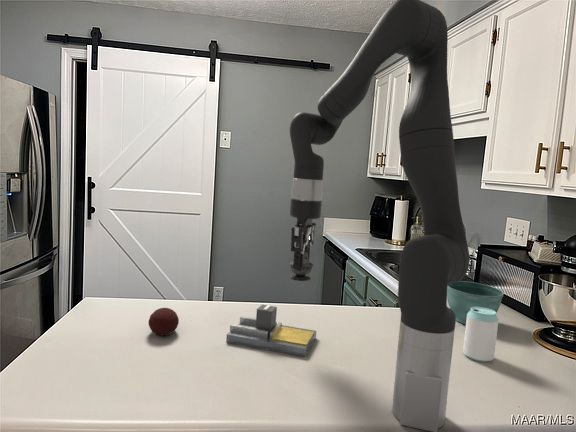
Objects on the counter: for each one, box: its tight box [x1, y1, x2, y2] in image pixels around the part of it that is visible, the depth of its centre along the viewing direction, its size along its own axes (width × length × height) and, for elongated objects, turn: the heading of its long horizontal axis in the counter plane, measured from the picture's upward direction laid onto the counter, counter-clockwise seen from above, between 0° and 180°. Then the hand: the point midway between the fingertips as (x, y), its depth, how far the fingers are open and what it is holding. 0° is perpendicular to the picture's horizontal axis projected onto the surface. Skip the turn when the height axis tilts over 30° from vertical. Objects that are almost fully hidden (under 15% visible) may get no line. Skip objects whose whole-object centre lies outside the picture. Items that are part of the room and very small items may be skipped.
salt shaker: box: [289, 239, 314, 282], centre depth 102 cm, size 6×6×12 cm
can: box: [462, 307, 499, 363], centre depth 103 cm, size 7×7×12 cm
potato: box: [148, 307, 180, 337], centre depth 106 cm, size 7×10×6 cm
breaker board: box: [226, 315, 317, 358], centre depth 105 cm, size 12×20×4 cm, turn 74°
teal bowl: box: [447, 280, 504, 325], centre depth 129 cm, size 16×16×11 cm
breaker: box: [255, 304, 278, 335], centre depth 105 cm, size 4×4×6 cm
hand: (301, 265), depth 102 cm, fingers closed on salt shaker, 6 cm apart
